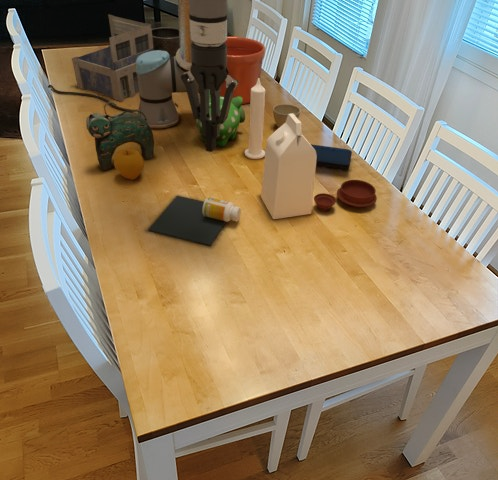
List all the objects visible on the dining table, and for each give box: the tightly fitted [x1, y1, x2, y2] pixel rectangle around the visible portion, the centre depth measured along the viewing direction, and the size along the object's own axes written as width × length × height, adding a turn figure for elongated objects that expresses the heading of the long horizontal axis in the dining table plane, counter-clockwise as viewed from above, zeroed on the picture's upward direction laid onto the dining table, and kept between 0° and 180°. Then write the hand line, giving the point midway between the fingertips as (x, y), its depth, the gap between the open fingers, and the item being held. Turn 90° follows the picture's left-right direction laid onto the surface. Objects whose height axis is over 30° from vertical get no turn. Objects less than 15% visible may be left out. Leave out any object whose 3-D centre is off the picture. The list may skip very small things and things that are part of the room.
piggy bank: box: [195, 90, 246, 148], centre depth 158 cm, size 14×18×15 cm
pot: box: [220, 36, 266, 105], centre depth 186 cm, size 25×25×19 cm
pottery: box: [313, 179, 378, 212], centre depth 134 cm, size 12×20×4 cm, turn 113°
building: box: [71, 13, 154, 102], centre depth 187 cm, size 23×24×23 cm
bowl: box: [272, 103, 301, 129], centre depth 169 cm, size 10×10×7 cm
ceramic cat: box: [85, 101, 155, 171], centre depth 142 cm, size 20×6×20 cm, turn 122°
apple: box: [113, 148, 145, 181], centre depth 139 cm, size 9×9×9 cm
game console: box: [310, 143, 353, 171], centre depth 149 cm, size 16×13×9 cm
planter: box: [151, 26, 180, 57], centre depth 205 cm, size 17×17×16 cm
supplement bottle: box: [202, 196, 242, 223], centre depth 125 cm, size 5×5×10 cm
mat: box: [147, 195, 227, 247], centre depth 126 cm, size 18×18×1 cm
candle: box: [244, 78, 266, 160], centre depth 147 cm, size 7×7×25 cm
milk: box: [260, 113, 317, 220], centre depth 125 cm, size 12×12×26 cm
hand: (211, 148), depth 110 cm, fingers closed
